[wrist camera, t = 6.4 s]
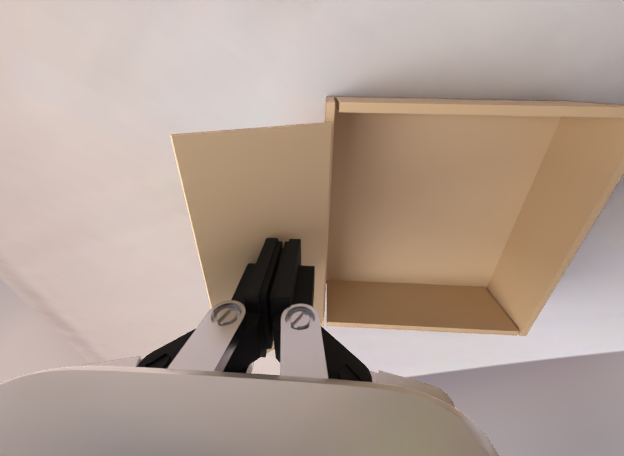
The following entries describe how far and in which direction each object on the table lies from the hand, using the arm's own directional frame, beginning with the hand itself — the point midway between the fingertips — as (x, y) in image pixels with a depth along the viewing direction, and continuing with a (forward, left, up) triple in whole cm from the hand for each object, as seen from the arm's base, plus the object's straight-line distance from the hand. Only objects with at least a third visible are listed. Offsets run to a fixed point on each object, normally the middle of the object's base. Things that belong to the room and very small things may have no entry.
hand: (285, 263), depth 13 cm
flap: (+1, 0, 0) cm, 1 cm away
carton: (-9, 0, -7) cm, 11 cm away
